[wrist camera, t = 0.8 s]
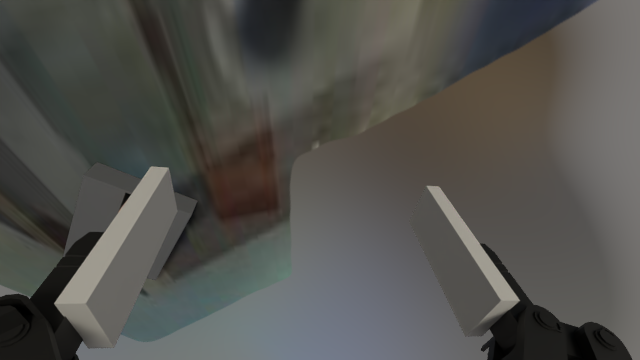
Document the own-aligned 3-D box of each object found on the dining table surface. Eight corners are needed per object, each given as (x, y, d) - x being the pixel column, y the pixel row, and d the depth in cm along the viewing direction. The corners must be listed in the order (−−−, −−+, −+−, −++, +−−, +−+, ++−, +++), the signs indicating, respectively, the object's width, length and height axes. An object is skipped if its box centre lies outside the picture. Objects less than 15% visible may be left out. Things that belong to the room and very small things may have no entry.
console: (75, 241, 60) (63, 256, 57) (97, 162, 49) (83, 175, 46) (161, 265, 67) (155, 280, 64) (197, 200, 56) (191, 214, 53)
